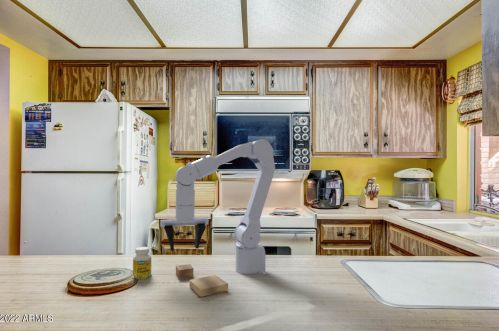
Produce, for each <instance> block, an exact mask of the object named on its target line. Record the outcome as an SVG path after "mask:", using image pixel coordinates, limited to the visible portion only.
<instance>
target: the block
mask: <svg viewBox="0 0 499 331" xmlns="http://www.w3.org/2000/svg"><path fill="white" fill-rule="evenodd" d="M175 276H176V279H177V280H186V279H194V267H193V265H192V264H190V263H189V264H179V265H175Z"/></svg>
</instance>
